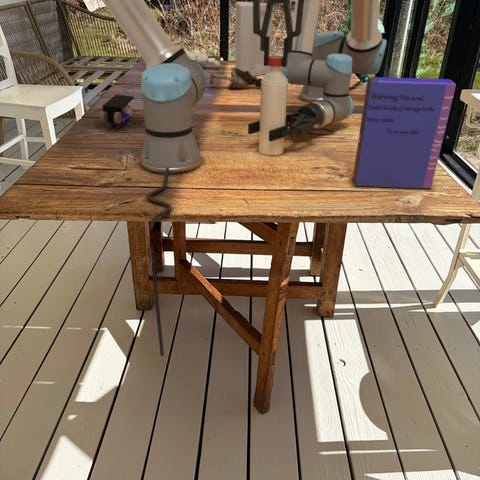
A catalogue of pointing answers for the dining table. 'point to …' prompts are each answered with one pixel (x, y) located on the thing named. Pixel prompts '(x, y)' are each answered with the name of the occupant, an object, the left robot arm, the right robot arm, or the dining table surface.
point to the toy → (202, 59)
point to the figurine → (239, 79)
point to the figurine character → (116, 110)
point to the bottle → (272, 110)
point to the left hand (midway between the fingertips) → (275, 65)
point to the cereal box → (402, 131)
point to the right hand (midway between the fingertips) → (259, 132)
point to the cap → (275, 61)
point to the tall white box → (250, 40)
